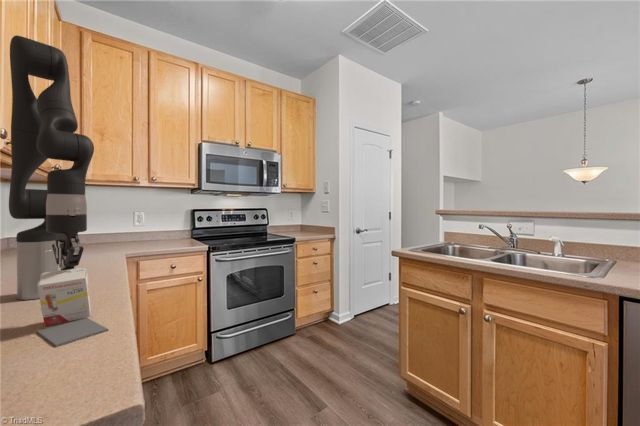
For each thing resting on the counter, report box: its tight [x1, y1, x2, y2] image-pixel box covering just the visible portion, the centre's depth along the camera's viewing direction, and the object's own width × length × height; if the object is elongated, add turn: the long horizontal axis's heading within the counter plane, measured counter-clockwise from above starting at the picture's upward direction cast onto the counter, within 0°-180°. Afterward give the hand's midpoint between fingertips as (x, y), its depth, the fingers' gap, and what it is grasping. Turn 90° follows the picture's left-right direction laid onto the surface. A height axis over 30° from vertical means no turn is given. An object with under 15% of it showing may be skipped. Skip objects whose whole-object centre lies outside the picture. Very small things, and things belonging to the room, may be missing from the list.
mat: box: [36, 317, 109, 348], centre depth 64 cm, size 12×9×1 cm
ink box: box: [37, 267, 92, 328], centre depth 68 cm, size 9×5×12 cm, turn 127°
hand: (67, 282), depth 70 cm, fingers closed
